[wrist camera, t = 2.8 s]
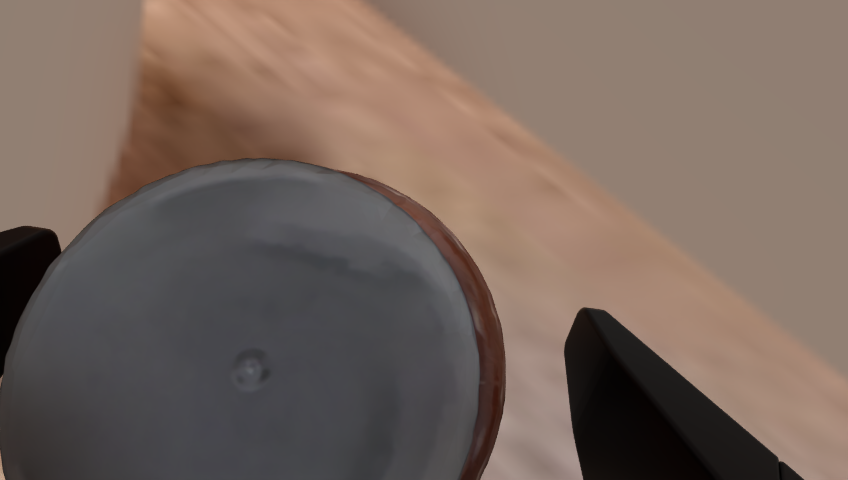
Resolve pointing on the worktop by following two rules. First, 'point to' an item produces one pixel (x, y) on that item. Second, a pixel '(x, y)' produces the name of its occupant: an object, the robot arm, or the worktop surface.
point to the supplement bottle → (256, 338)
